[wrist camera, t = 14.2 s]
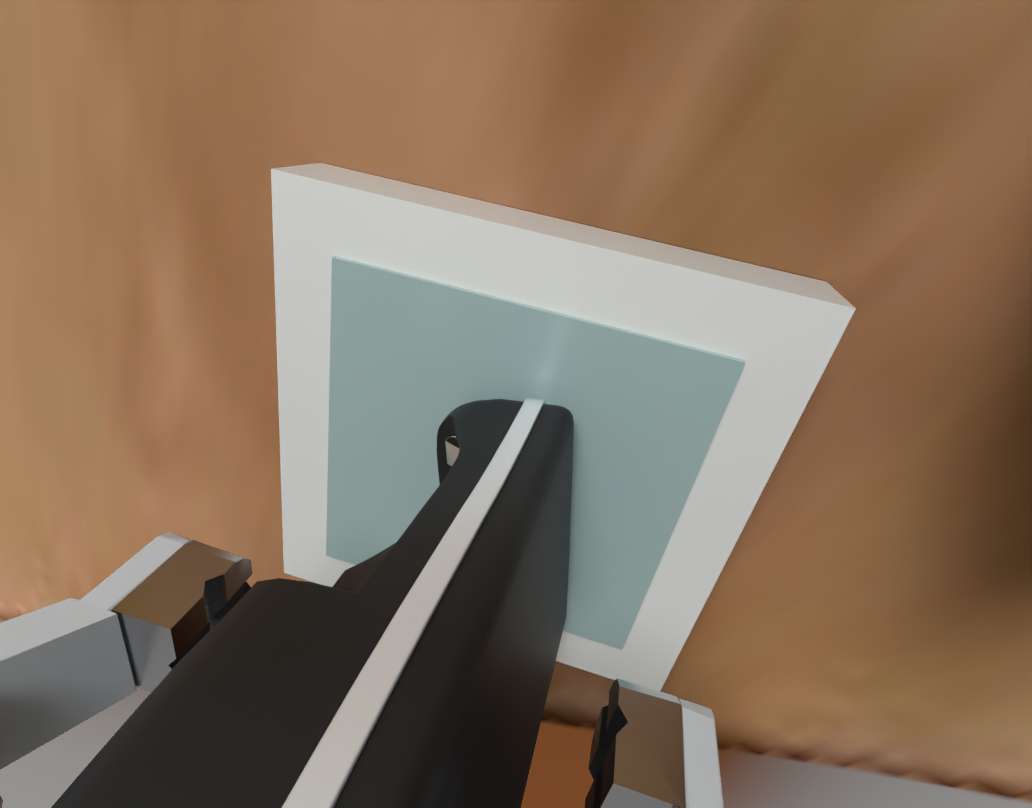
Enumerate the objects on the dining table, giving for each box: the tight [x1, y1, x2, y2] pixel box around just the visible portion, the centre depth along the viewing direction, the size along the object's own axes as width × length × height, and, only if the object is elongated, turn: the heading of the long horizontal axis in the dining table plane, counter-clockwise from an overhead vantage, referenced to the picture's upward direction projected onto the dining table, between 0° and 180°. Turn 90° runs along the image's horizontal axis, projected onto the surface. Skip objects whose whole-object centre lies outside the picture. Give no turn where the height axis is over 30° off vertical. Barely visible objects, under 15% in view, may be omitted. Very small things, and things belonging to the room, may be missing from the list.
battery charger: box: [52, 398, 574, 808], centre depth 9 cm, size 7×4×11 cm, turn 1°
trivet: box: [271, 163, 856, 691], centre depth 15 cm, size 12×12×2 cm
